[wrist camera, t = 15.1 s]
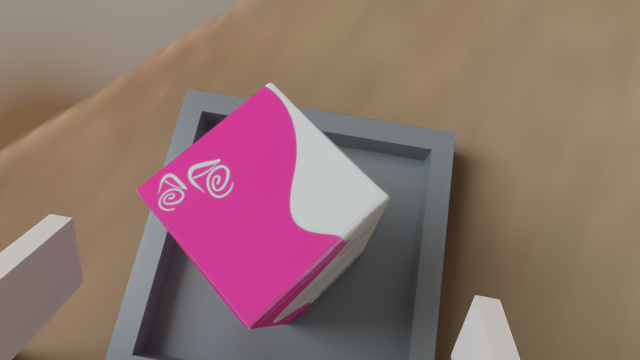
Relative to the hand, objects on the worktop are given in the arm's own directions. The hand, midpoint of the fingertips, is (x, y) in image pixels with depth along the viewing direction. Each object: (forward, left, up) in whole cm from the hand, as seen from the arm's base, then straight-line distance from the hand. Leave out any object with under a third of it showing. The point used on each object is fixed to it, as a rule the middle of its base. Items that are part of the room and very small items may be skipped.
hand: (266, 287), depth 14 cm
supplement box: (0, -3, -10) cm, 10 cm away
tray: (0, -3, -10) cm, 10 cm away
